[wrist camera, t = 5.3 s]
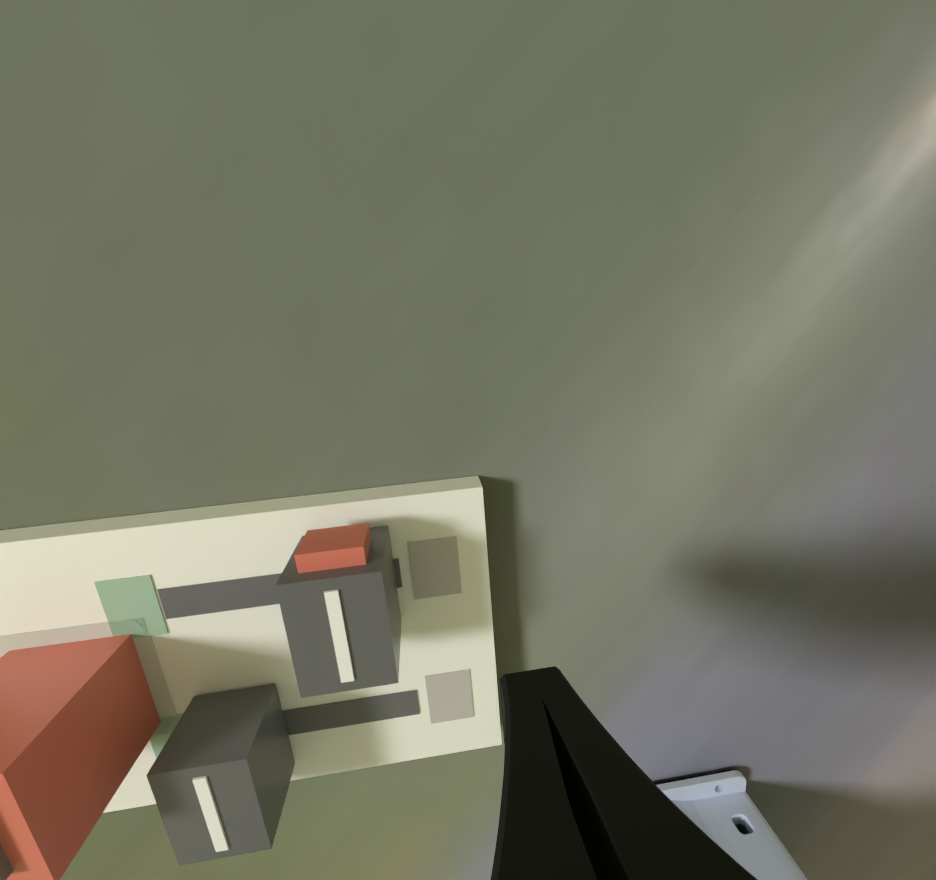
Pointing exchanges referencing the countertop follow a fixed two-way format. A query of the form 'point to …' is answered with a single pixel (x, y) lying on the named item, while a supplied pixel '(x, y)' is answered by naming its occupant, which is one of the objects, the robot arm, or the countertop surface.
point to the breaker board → (272, 617)
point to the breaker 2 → (342, 610)
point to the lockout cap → (66, 746)
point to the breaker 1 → (224, 774)
